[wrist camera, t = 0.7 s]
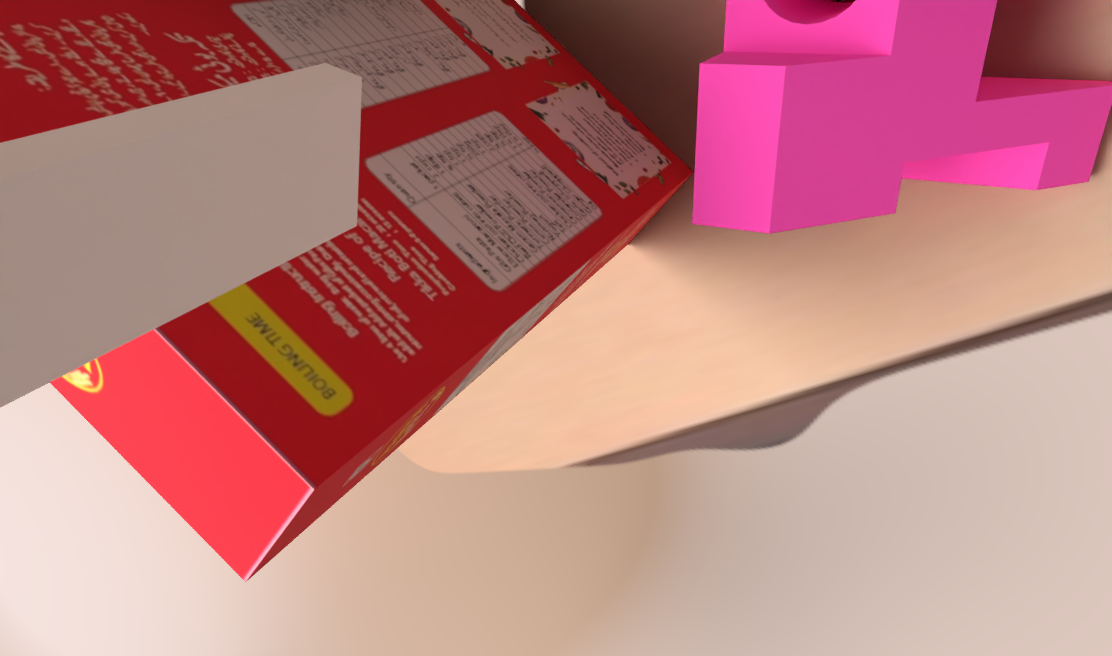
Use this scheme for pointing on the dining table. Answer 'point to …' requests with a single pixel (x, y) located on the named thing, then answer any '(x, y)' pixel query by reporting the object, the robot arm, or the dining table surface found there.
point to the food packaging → (344, 235)
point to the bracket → (873, 112)
